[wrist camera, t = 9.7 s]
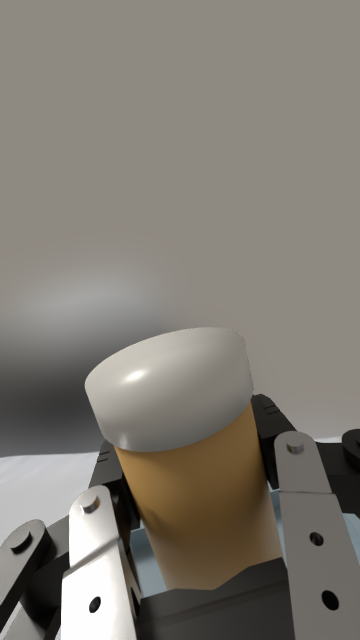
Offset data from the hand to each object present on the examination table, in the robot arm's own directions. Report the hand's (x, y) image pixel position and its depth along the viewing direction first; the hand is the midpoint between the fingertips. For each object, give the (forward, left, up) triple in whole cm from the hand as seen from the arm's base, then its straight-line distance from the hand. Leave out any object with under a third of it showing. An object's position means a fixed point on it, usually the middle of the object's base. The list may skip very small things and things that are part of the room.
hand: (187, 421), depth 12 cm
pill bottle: (0, -3, -6) cm, 7 cm away
